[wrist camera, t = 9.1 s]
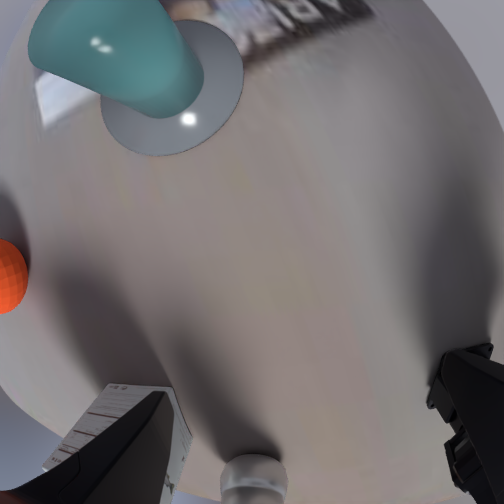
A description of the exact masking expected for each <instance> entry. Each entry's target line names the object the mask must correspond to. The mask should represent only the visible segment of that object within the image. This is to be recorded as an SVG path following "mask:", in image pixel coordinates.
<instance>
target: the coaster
mask: <svg viewBox="0 0 504 504" xmlns="http://www.w3.org/2000/svg"><path fill="white" fill-rule="evenodd" d="M174 23H175V25H176V26H177V28H178V29H179V31H180V32H181V34H182V35H183V37H184V38H185V40H186V41H187V43H188V44H189V46H190V47H191V49H192V50H193V52H194V53H195V55H196V56H197V58H198V59H199V61H200V62H201V64H202V67H203V70H204V83H203V86H202V89H201V92H200V94H199V95H198V97H197V98H196V100H195V101H194V102H193V103H192V104H191V105H190V106H189V107H188V108H187V109H185V110H184V111H182V112H181V113H179V114H177V115H175V116H172V117H168V118H162V119H155V118H150V117H147V116H145V115H143V114H141V113H139V112H137V111H135V110H133V109H131V108H129V107H127V106H125V105H123V104H120V103H118V102H116V101H114V100H112V99H110V98H108V97H105V96H103V95H101V112H102V116H103V120H104V123H105V125H106V127H107V129H108V131H109V132H110V134H111V135H112V136H113V137H114V139H115V140H116V141H117V142H119V143H120V144H121V145H122V146H124V147H126V148H127V149H129V150H131V151H134V152H137V153H140V154H145V155H150V156H167V155H173V154H178V153H181V152H184V151H187V150H189V149H191V148H194V147H196V146H198V145H199V144H201V143H203V142H204V141H206V140H207V139H209V138H210V137H211V136H212V135H214V134H215V133H216V132H217V131H218V130H219V129H220V128H221V127H222V126H223V125H224V124H225V123H226V121H227V120H228V119H229V117H230V116H231V114H232V113H233V111H234V110H235V108H236V106H237V104H238V101H239V99H240V96H241V93H242V88H243V83H244V69H243V63H242V60H241V56H240V53H239V51H238V49H237V47H236V46H235V44H234V43H233V41H232V40H231V39H230V38H229V37H228V36H227V35H226V34H225V33H223V32H222V31H221V30H219V29H217V28H215V27H213V26H212V25H209V24H206V23H202V22H197V21H174Z"/></svg>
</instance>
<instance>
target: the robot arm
mask: <svg viewBox="0 0 504 504" xmlns="http://www.w3.org/2000/svg"><path fill="white" fill-rule="evenodd" d="M493 347H494V346H493V344H491V343H486V344H482V345H478V346H474V347H470V348H466V349H453V350H450V351H448V352H447V353H445V354H444V355H443V357H442V360H441V363H440V367H439V370H438V373H437V376H436V379H435V382H434V385H433V388H432V391H431V394H430V397H429V400H428V403H427V407H428V409H434V408H437V410H438V411H439V413H440V415H441V416H442V418H443V420H444V421H445V423H446V424H447V423H450V425H451V427H452V428H453V430H454V432H455V433H456V434H455V435H454V436H453V437H452V438H451V439H450V440H448V441H447V442H446V443H445V444H444V447H445V450H446V451H445V452H446V456H447V460H448V464H449V468H450V472H451V477H452V481H453V482H454V485H455V487H457V488H460V489H461V490H462V491H463V492H464V493H466V494H469V495H472V497H473V498H474V500H475V501H476V503H477V504H504V365H503V364H500V363H497V362H494V361H491V360H490V357H491V354H492V351H493ZM173 423H174V409H173V406H172V404H171V401H170V398H169V396H168V393H167V392H166V391H157V390H155V391H152V392H151V393H150V394H148V395H147V396H146V397H145V398H144V399H142V400H141V401H140V402H139V403H137V404H136V405H135V406H134V407H133V408H131V409H130V410H129V411H128V412H126V413H125V414H124V415H123V416H121V417H120V418H119V419H118V420H116V421H115V422H114V423H113V424H111V425H110V426H109V427H108V428H106V429H105V430H104V431H102V432H101V433H100V434H99V435H97V436H96V437H95V438H93V439H92V440H91V441H90V442H88V443H87V444H86V445H84V446H83V447H82V448H80V449H79V452H78V451H76V452H75V453H74V454H72V455H71V456H70V457H68V458H67V459H65V460H64V461H63V462H61V463H60V464H58V465H57V466H55V467H53V468H52V469H50V470H49V471H47V472H45V473H44V474H42V475H40V476H38V477H36V478H34V479H33V480H31V481H29V482H27V483H25V484H23V485H21V486H19V487H17V488H15V489H12V490H6V491H0V504H160V500H161V495H162V491H163V486H164V482H165V477H166V473H167V468H168V464H169V459H170V453H171V443H172V433H173Z"/></svg>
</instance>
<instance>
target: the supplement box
mask: <svg viewBox="0 0 504 504" xmlns="http://www.w3.org/2000/svg"><path fill="white" fill-rule="evenodd" d="M155 390H157V391H166V392H167V393H168V396H169V398H170V401H171V404H172V406H173V409H174V423H173V433H172V443H171V453H170V459H169V464H168V468H167V473H166V477H165V482H164V486H163V491H162V495H161V500H160V504H171V501H172V499H173V496H174V492H175V490H176V487H177V484H178V481H179V478H180V475H181V473H182V470H183V467H184V464H185V461H186V458H187V455H188V452H189V449H190V446H191V443H192V440H193V438H192V436H191V434H190V433H189V430H188V428H187V426H186V424H185V422H184V419H183V417H182V414H181V411H180V408H179V406H178V403H177V400H176V397H175V394H174V391H173V388H172V387H159V386H141V385H127V384H114V383H109V384H108V385H107V386H106V387H105V389H104V390H103V391H102V392H101V393H100V395H99V396H98V397H97V398H96V399H95V400H94V402H93V403H92V404H91V405H90V407H89V408H88V409H87V410H86V412H85V413H84V414H83V415H82V416H81V418H80V419H79V420H78V421H77V423H76V424H75V425H74V426H73V428H72V429H71V430H70V431H69V433H68V434H67V435H66V437H65V438H64V439H63V440H62V442H61V443H60V444H59V445H58V447H57V448H56V449H55V451H54V452H53V453H52V454H51V455H50V457H49V458H48V459H47V460H46V462H45V463H44V464H43V465H42V468H43V470H44V471H45V472H47V471H49V470H50V469H52V468H53V467H55V466H57V465H58V464H60V463H61V462H63V461H64V460H65V459H67V458H68V457H70V456H71V455H72V454H74V453H75V452H76V451H78V452H79V449H80V448H82V447H83V446H84V445H86V444H87V443H88V442H90V441H91V440H92V439H93V438H95V437H96V436H97V435H99V434H100V433H101V432H102V431H104V430H105V429H106V428H108V427H109V426H110V425H111V424H113V423H114V422H115V421H116V420H118V419H119V418H120V417H121V416H123V415H124V414H125V413H126V412H128V411H129V410H130V409H131V408H133V407H134V406H135V405H136V404H137V403H139V402H140V401H141V400H142V399H144V398H145V397H146V396H147V395H148V394H150V393H151V392H152V391H155Z"/></svg>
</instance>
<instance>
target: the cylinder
mask: <svg viewBox="0 0 504 504" xmlns="http://www.w3.org/2000/svg"><path fill="white" fill-rule="evenodd" d="M28 55H29V59H30V61H31V63H32V64H33V65H34V66H35V67H37V68H39V69H42V70H45V71H47V72H50V73H52V74H55V75H57V76H60V77H62V78H64V79H67V80H69V81H72V82H74V83H76V84H79V85H81V86H83V87H85V88H88V89H90V90H92V91H94V92H97V93H99V94H101V95H103V96H105V97H108V98H110V99H112V100H114V101H116V102H118V103H120V104H123V105H125V106H127V107H129V108H131V109H133V110H135V111H137V112H139V113H141V114H143V115H145V116H147V117H150V118H155V119H162V118H168V117H172V116H175V115H177V114H179V113H181V112H182V111H184V110H185V109H187V108H188V107H189V106H190V105H191V104H192V103H193V102H194V101H195V100H196V98H197V97H198V95H199V94H200V92H201V89H202V86H203V83H204V70H203V67H202V64H201V62H200V61H199V59H198V58H197V56H196V55H195V53H194V52H193V50H192V49H191V47H190V46H189V44H188V43H187V41H186V40H185V38H184V37H183V35H182V34H181V32H180V31H179V29H178V28H177V26H176V25H175V23H174V22H173V21H172V19H171V18H170V16H169V15H168V13H167V12H166V11H165V9H164V8H163V6H162V5H161V4H160V2H159V1H158V0H49V1H48V3H47V4H46V5H45V7H44V8H43V9H42V11H41V12H40V14H39V16H38V17H37V19H36V21H35V23H34V26H33V28H32V30H31V34H30V37H29V42H28Z"/></svg>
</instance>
